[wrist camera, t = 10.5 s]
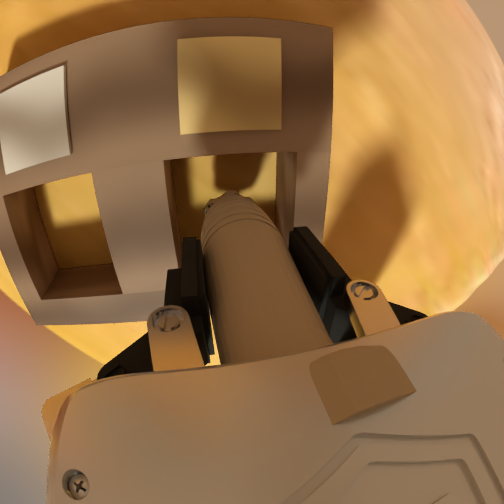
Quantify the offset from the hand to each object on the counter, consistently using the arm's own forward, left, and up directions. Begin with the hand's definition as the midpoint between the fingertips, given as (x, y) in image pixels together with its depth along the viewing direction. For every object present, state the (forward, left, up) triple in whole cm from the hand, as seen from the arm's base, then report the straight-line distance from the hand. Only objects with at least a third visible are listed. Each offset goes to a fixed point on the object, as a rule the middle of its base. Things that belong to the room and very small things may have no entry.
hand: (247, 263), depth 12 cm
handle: (0, 0, -6) cm, 6 cm away
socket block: (-3, -5, -8) cm, 10 cm away
